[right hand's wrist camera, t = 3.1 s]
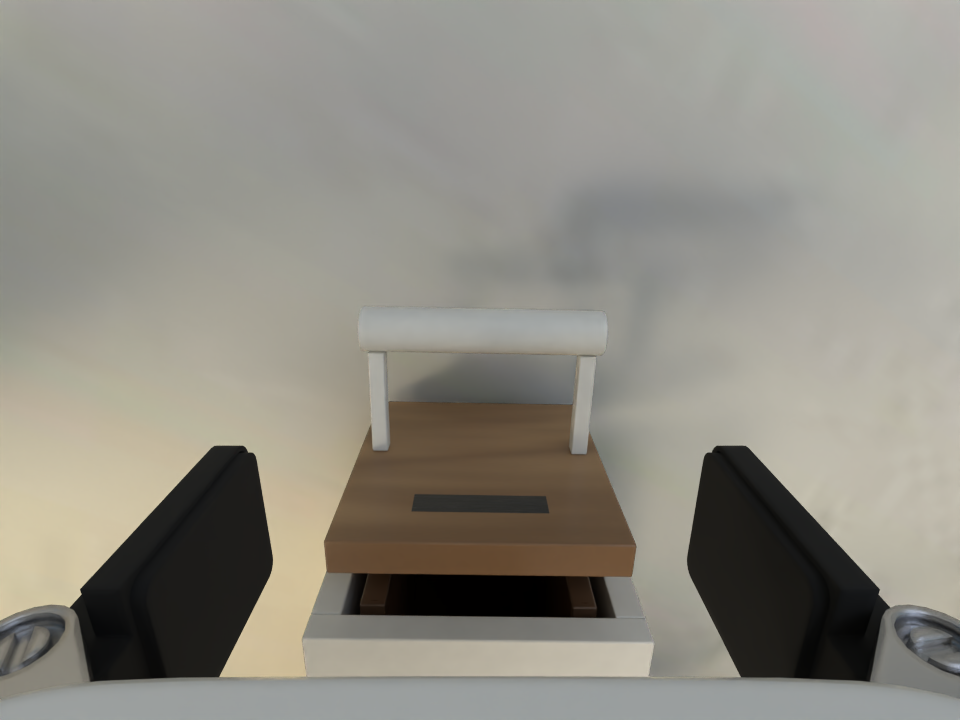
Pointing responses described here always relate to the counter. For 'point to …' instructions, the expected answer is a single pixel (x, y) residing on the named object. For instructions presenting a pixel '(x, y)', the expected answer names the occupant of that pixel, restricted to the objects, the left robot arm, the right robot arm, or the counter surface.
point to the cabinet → (476, 638)
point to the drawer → (480, 479)
